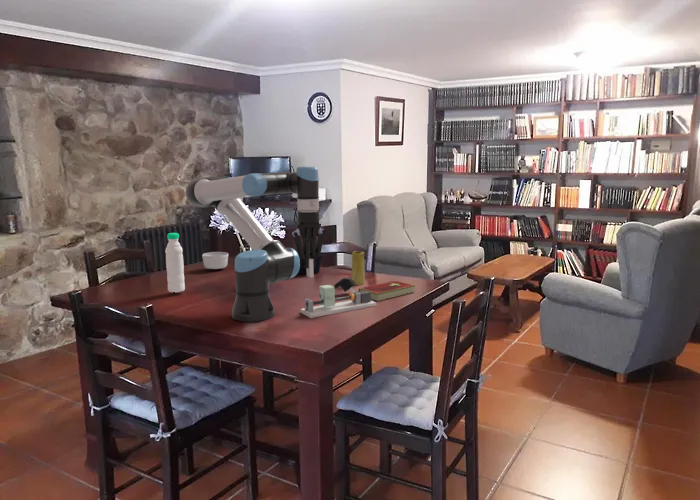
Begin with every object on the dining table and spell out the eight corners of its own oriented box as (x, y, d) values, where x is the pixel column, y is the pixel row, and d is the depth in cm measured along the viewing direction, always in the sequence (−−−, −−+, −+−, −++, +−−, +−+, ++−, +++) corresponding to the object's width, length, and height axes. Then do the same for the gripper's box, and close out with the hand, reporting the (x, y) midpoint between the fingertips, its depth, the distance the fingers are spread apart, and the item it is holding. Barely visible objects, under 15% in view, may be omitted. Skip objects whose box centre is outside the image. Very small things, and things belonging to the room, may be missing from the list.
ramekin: (222, 263, 294) (221, 250, 293) (233, 267, 284) (232, 254, 283) (198, 266, 286) (198, 253, 285) (209, 270, 276) (208, 257, 275)
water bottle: (182, 292, 232) (178, 234, 227) (165, 292, 232) (161, 234, 227) (187, 288, 239) (183, 232, 234) (170, 288, 239) (167, 232, 234)
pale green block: (325, 307, 199) (325, 288, 197) (319, 304, 202) (319, 286, 201) (334, 305, 201) (334, 287, 199) (329, 302, 204) (328, 284, 203)
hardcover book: (358, 297, 223) (358, 287, 223) (395, 289, 237) (395, 279, 236) (378, 303, 214) (378, 293, 214) (415, 294, 227) (415, 284, 227)
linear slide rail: (310, 318, 194) (310, 303, 193) (300, 312, 201) (300, 298, 200) (376, 306, 208) (376, 292, 207) (365, 301, 215) (365, 288, 214)
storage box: (310, 268, 282) (310, 249, 280) (321, 274, 267) (321, 254, 265) (271, 271, 273) (270, 252, 272) (281, 278, 259) (280, 257, 257)
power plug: (327, 289, 231) (349, 273, 228) (338, 303, 231) (360, 287, 228) (324, 292, 226) (346, 276, 223) (335, 307, 226) (358, 290, 223)
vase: (351, 282, 248) (350, 251, 246) (364, 281, 249) (364, 250, 246) (352, 285, 242) (351, 253, 240) (365, 284, 243) (365, 253, 240)
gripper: (296, 213, 185) (298, 280, 189) (329, 210, 192) (331, 276, 196) (286, 211, 192) (289, 277, 196) (319, 209, 198) (321, 272, 202)
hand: (310, 276), depth 196 cm, fingers closed
